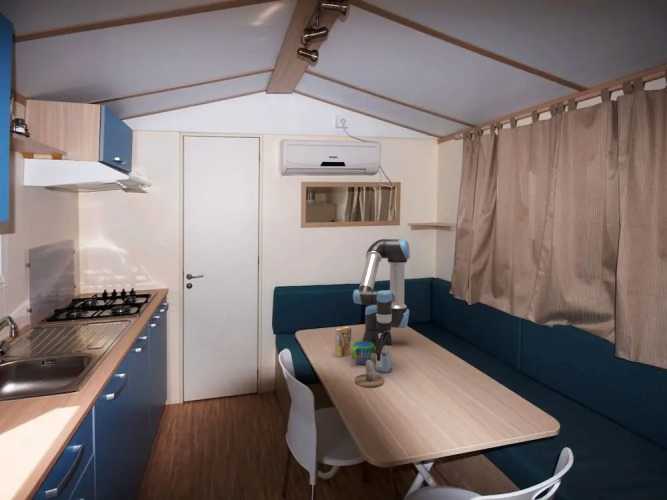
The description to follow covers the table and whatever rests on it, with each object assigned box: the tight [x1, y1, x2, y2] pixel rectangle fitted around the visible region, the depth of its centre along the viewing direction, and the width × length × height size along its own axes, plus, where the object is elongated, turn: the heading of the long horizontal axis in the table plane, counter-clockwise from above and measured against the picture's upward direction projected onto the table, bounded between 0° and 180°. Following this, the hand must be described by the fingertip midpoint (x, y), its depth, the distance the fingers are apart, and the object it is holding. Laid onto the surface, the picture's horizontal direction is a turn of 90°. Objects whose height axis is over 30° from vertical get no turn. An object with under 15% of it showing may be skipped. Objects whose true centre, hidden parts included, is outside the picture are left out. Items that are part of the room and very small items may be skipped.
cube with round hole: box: [375, 352, 392, 372], centre depth 204 cm, size 6×6×8 cm
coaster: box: [374, 366, 393, 374], centre depth 204 cm, size 9×9×1 cm
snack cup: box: [351, 340, 376, 365], centre depth 214 cm, size 16×10×10 cm
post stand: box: [354, 359, 385, 389], centre depth 190 cm, size 14×14×10 cm
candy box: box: [334, 326, 352, 358], centre depth 226 cm, size 9×4×15 cm, turn 129°
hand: (383, 362), depth 204 cm, fingers open, 13 cm apart
